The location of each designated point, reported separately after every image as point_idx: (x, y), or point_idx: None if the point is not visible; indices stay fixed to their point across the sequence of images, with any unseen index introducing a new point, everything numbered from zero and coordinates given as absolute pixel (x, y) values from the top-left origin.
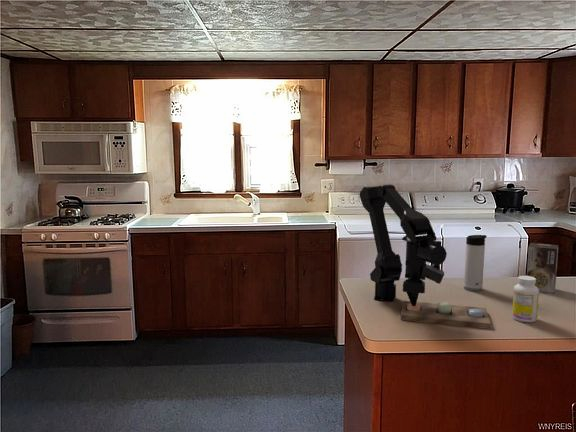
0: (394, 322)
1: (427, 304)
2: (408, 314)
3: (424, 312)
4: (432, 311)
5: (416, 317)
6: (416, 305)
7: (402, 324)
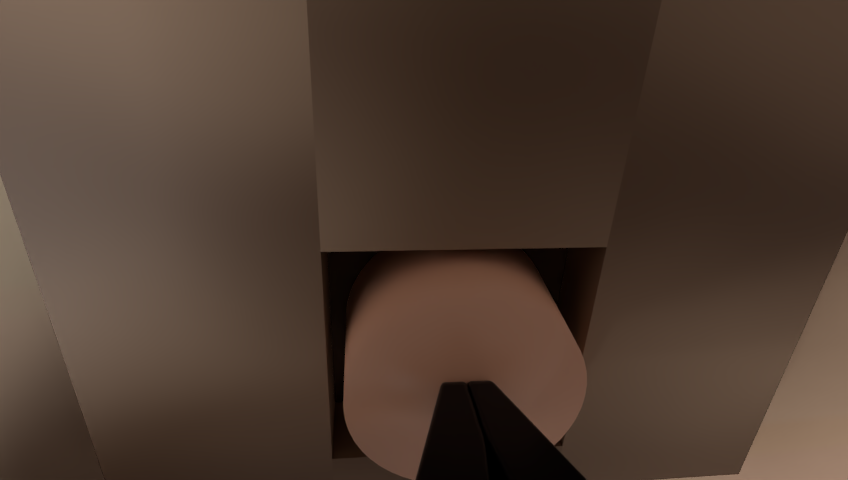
0: (772, 462)
1: (116, 138)
2: (721, 404)
3: (634, 194)
4: (560, 32)
5: (800, 296)
6: (448, 365)
7: (839, 394)
